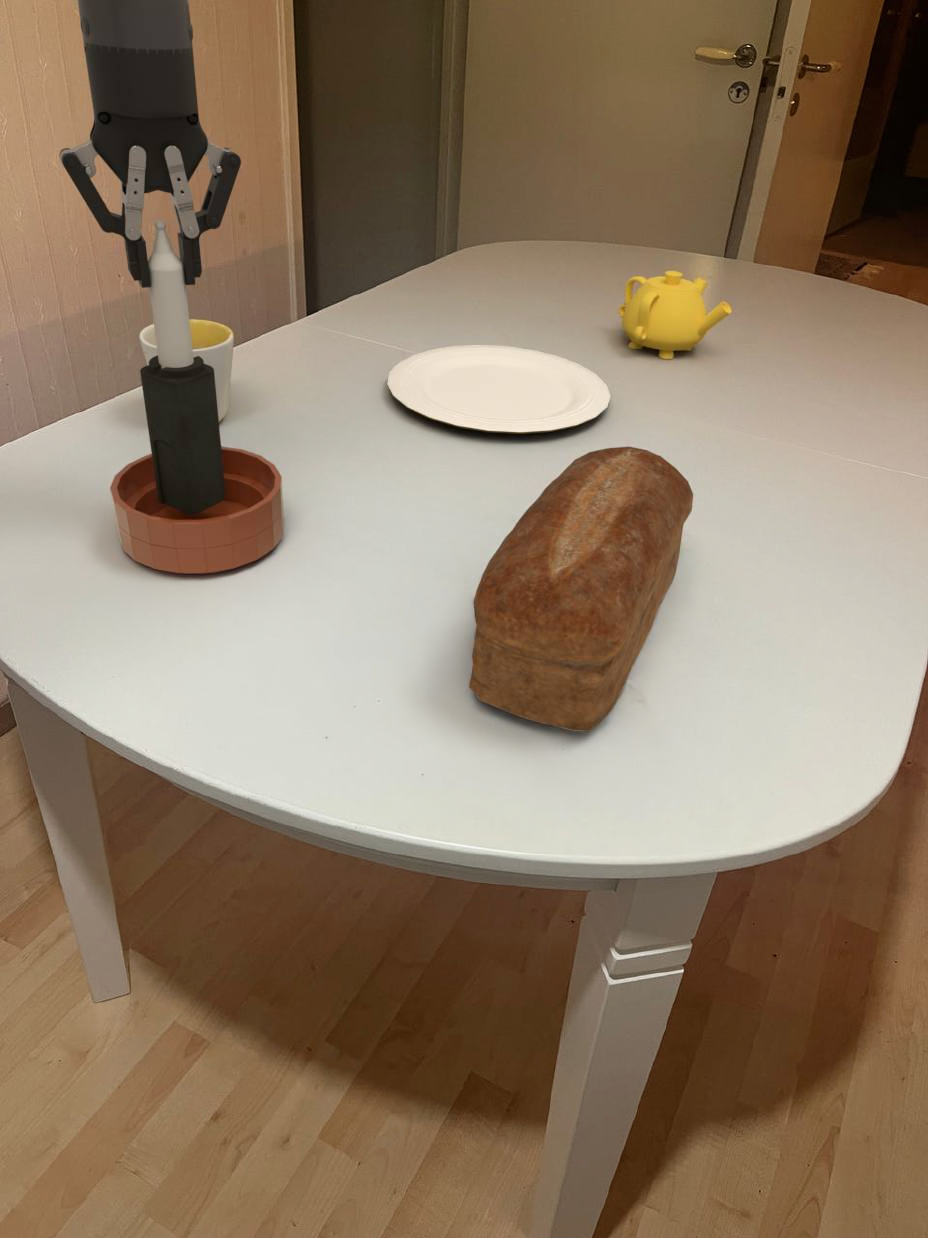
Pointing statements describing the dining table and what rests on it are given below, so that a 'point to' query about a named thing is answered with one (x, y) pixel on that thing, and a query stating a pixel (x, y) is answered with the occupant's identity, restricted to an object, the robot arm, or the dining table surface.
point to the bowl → (201, 517)
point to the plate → (498, 389)
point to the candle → (180, 395)
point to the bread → (579, 588)
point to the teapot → (668, 313)
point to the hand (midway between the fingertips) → (166, 282)
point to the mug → (204, 354)
